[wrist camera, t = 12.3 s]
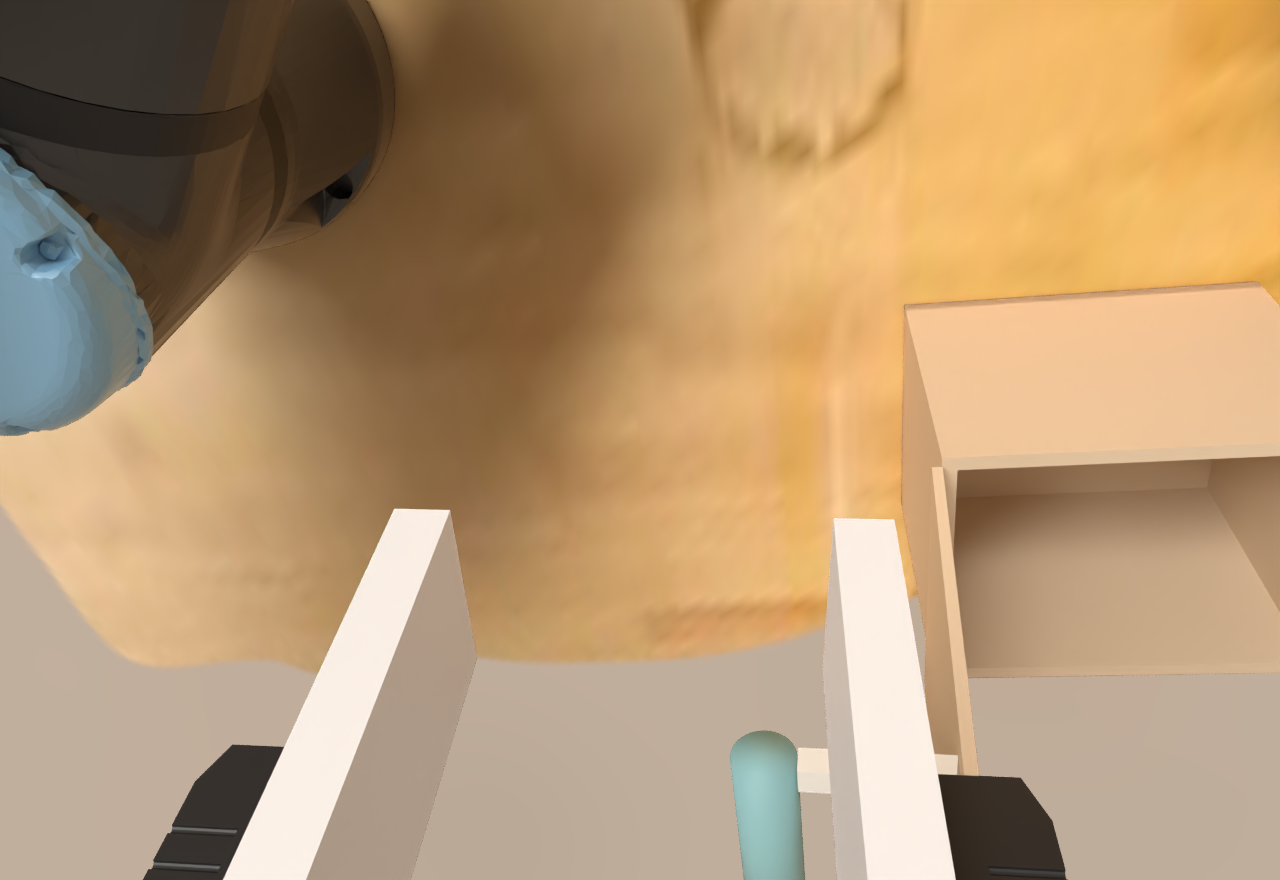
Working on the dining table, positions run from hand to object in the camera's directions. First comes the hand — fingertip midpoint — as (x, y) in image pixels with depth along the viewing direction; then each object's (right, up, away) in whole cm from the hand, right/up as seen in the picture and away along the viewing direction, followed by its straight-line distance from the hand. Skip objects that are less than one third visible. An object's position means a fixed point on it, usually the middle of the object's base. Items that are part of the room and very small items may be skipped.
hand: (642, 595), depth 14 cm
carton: (+21, +4, +39) cm, 45 cm away
